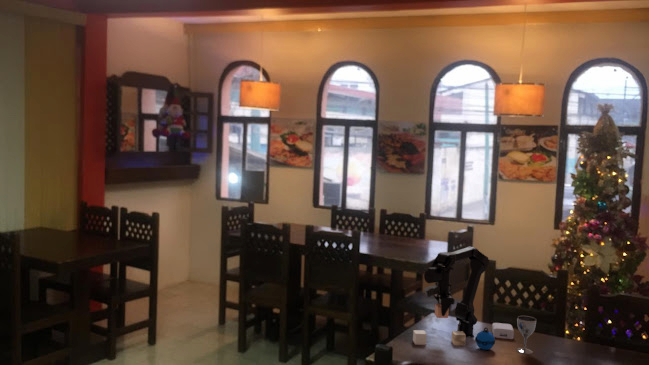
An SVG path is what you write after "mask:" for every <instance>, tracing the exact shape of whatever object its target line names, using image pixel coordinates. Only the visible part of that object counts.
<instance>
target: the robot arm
mask: <svg viewBox="0 0 649 365" xmlns="http://www.w3.org/2000/svg"><path fill="white" fill-rule="evenodd" d="M465 259H468V260H469V261H470V262H469V268H470V273H469V276H468V277H469V278H468V280H467V283H466V287H465V291H464V294H463V297H462V300H461V301H460V302H457V303H456V304H455V302H456V301H455V298H453V297H452V296H451V292H450V287H452V283H451V272H453V271H455V269H454V268H453V266H455V265H456V263H457V262H460V261H463V260H465ZM489 264H490V260H489V257H488V256H487V255H485V254H484V253H482V252H481V251H479V249H478V248H477V247H473V246H466V247H465V248H461V249H457V250H455V251H451V252H448V251H447V252H446V251H442V252H438V253H437V255H436V257H435V259H434V261H433V262H432V265H431V267H427V270H426V271H425V272H424V274H423V279H424V281H425V282H426V283H427V284H432V283H434V284H432V285H429V286H426V287H424V288H423V290H424V293H425V295H426V297H427V298H430V297H431V296H433V298H434V299H435V300H436V302H437V303H436V304H441V313H442V316H445V314H446V312H447V310H448V308H449V309H450V307H451V305H456V306H455V308H454V315H455V320H456V321H458V324H457V328H456V329H457V330H456V331H463V332H464V333H465V335H466V337H467V338H473V337H475V335H474V326H475V325H476V324H477V323H478V318H477V317H476V316H475V306H474V302H475V298H476V294H477V291H478V286H479V284H480V280H481V278H482V274H483V273H484V272H486V271H487V270H488V267H489Z"/></svg>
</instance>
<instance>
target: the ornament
mask: <svg viewBox="0 0 649 365" xmlns="http://www.w3.org/2000/svg"><path fill="white" fill-rule="evenodd" d="M474 337H475V339H474V341H475V343H476V345H477V347H478V348H479V349H481V350H483V351H488V350H490V349H493V347H494V346H495V344H496V337H494V336H493V332H490V331H489V328H488V327H484V328H483V330H481V331H479V332H478V333H477V334H476V336H474Z"/></svg>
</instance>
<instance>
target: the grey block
mask: <svg viewBox="0 0 649 365" xmlns="http://www.w3.org/2000/svg"><path fill="white" fill-rule="evenodd" d="M412 332H413V333H412V341H413V343H414V345H419V346H420V345H427V337H428V335H427V332H426V331H425V330H421V329H415V330H414V329H413V331H412Z"/></svg>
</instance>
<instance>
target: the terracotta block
mask: <svg viewBox="0 0 649 365" xmlns="http://www.w3.org/2000/svg"><path fill="white" fill-rule="evenodd" d="M449 309H450V307H449V308H448V310H447V312H446V314H445V316H442V313H441V304H437V303H435V304H434V315H435V317H436V318H437V319H439V318H440V319H449V312H450V310H449Z"/></svg>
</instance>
